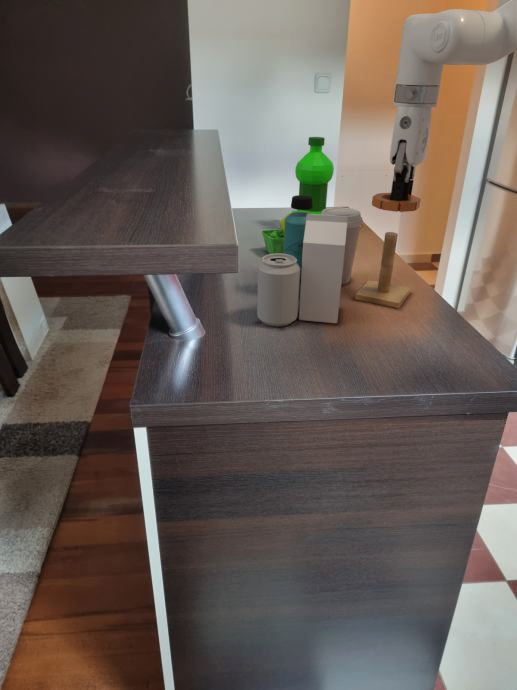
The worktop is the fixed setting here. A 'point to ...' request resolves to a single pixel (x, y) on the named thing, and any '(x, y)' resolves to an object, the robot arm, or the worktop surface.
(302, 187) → the plastic bottle
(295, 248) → the beverage bottle
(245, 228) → the worktop surface
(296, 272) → the can
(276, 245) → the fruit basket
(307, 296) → the milk carton
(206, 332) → the worktop surface
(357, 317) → the worktop surface
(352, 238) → the coffee cup
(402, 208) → the ring
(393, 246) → the post
